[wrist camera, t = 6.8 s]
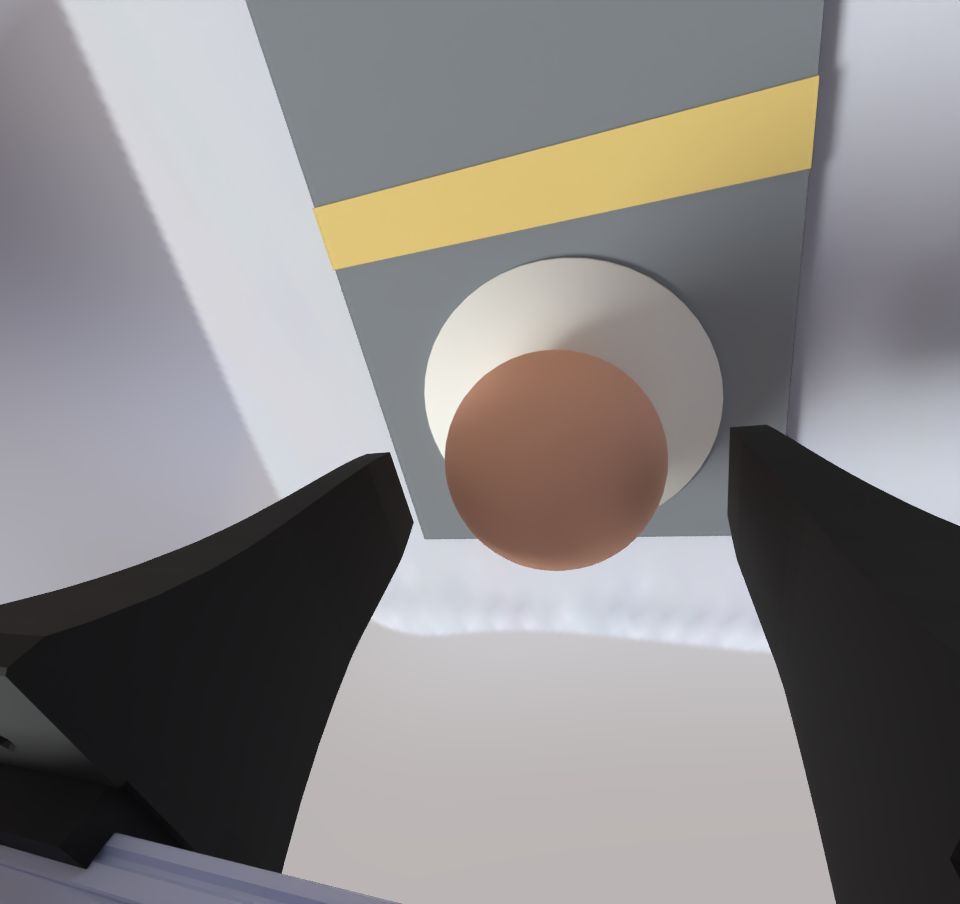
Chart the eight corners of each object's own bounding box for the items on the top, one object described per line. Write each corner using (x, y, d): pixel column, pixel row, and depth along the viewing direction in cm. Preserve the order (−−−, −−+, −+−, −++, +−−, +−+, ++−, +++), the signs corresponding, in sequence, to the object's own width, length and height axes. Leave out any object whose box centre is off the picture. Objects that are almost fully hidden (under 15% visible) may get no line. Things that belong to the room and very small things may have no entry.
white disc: (797, 359, 11) (800, 362, 11) (608, 563, 16) (608, 567, 16) (499, 193, 11) (497, 193, 11) (391, 447, 16) (388, 450, 15)
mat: (773, 526, 14) (777, 537, 14) (428, 532, 18) (423, 540, 17) (944, -1518, 4) (980, -1701, 4) (65, -584, 8) (32, -628, 7)
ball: (701, 383, 12) (747, 500, 8) (592, 515, 15) (584, 654, 11) (524, 286, 12) (475, 352, 8) (447, 438, 15) (380, 548, 10)
